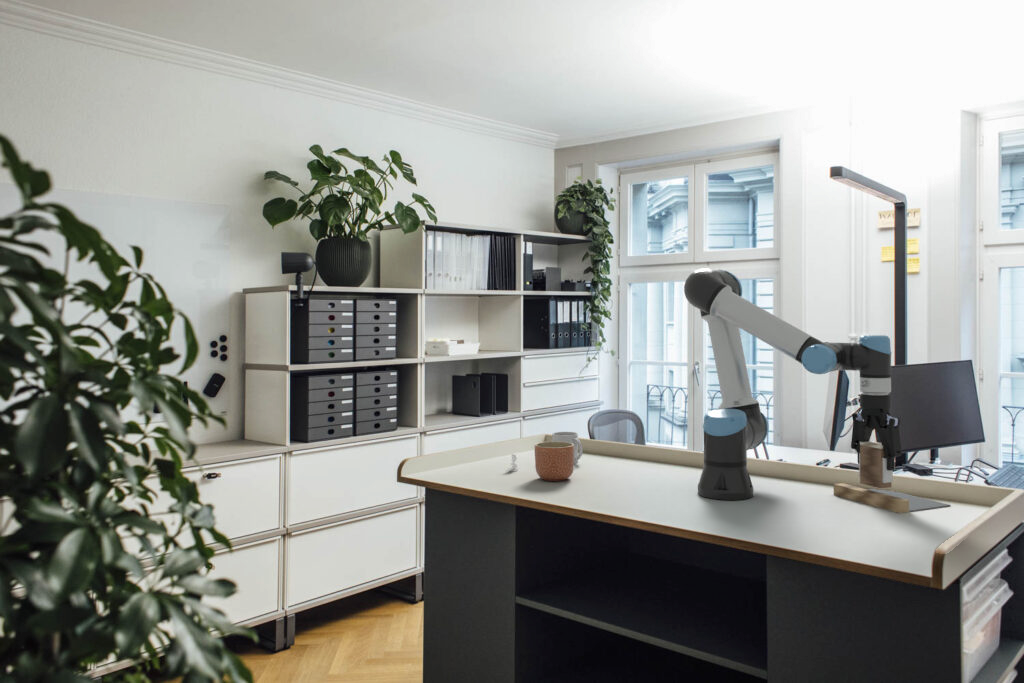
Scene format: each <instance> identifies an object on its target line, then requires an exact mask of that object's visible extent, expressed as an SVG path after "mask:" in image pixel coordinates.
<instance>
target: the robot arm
mask: <svg viewBox="0 0 1024 683" xmlns="http://www.w3.org/2000/svg"><path fill="white" fill-rule="evenodd" d="M683 286H684V288H683V292H684V297H685V299H686V300H687V301H688V303H689V304H691V305H692V307H693V308H694V307H695V308H697V309H699V311H700V312H699V313H700V317H701V319H702V320H703V321H705V322H706V323H707V325H708V331H709V337H710V341H711V348H712V352H713V357H714V364H715V368H716V372H717V374H716V375H717V380H718V383H719V389H720V390H719V391H720V394H721V403H720V404H719V406H718V409H713V410H710V411H708V412H707V413H705V415H704V416H703V424H702V430H703V468H702V471H701V475H700V478H699V481H698V484H697V494H698V495H699V496H701V497H704V498H707V499H714V500H721V501H722V500H723V501H739V500H746V499H751V498H752V497H754V495H755V494H754V485H753V482H752V479H751V476H750V473H749V471H748V465H747V464H748V463H747V461H748V460H747V459H748V457H747V455H748V454H747V451H749V450H754V449H755V448H758V447H759V446H760V445H761V444H762V443H763V442H765V440H766V439H767V437H768V434H769V422H768V419H767V417H766V415H764V413H763V412H761V408H760V403H759V400H757V399H756V398H754V396H753V393H752V390H751V384H750V379H749V375H748V374H749V373H748V368H747V365H746V358H745V354H744V348H743V342H742V337H741V331H740V329H741V330H743V331H745V332H747V333H748V334H749V335H751V336H753V337H755V338H756V339H758V340H760V341H762V342H764V343H765V344H766V345H768V346H770V347H772V348H774V349H775V350H778V351H779V352H781V353H782V354H784V355H786V356H788V357H789V358H791V359H793V360H794V361H797V362H798V363H799V364H801V365H802V366H803V367H804V369H805V370H806V371H807V372H809V373H810V374H811V373H812V374H816V375H823V374H824V375H825V374H828V373H829V372H835V371H852V372H853V371H859V392H861V393H860V395H859V407H860V408H861V411H860V412H853V413H852V414H851V417H852V428H851V429H852V430H851V431H852V432H851V433H852V434H851V441H850V448H851V449H852V450H855V451H856V453H857V463H858V472H859V473H858V477H859V478H860V442H867V441H871V437H872V434H873V431H874V430H875V431H876V433H877V434H878V436H879V440H880V443H881V444H882V446H883V451H884V454H885V456H884V457H883V458H882V466H883V483H889V482H891V483H893V480H894V479H893V474H894V473H893V471H894V470H895V459H896V458H897V457H901V456H902V445H901V434H900V424H901V423H900V422H901V419H900V418H899V417H893V416H891V413H890V410H891V408H892V395H891V392H892V375H891V374H892V350H891V339H890V337H889V336H887V335H884V334H883V335H882V334H880V335H878V334H876V335H875V334H874V335H871V334H869V335H867V334H866V335H860V337H859V340H858V342H827V341H826V342H822V341H821V340H819V339H817V338H815V337H814V336H812V335H811V334H808V333H807V332H806V331H803V330H801V329H800V328H798V327H796V326H794V325H792V324H791V323H789V322H787V321H785V320H783V319H781V318H780V317H778V316H776V315H774V314H772V313H771V312H769V311H767V310H765V309H764V308H762V307H760V306H758V305H757V304H754V303H752V302H751V301H749V300H748V299H745V298H744V297H742V295H743V286H742V283H741V281H740V279H739V278H738V277H737V276H736V275H735V274H733V273H732V272H729V271H727V270H724V269H713V268H712V269H711V268H700V269H697V270H695V271H693V272H691V273H690V274H689V275H688V277H687V278H686V280H685V282H684V285H683ZM889 452H890V453H889Z"/></svg>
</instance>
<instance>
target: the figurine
mask: <svg viewBox="0 0 1024 683" xmlns="http://www.w3.org/2000/svg"><path fill="white" fill-rule="evenodd" d="M510 461H511V462H510V465H511V467H510V468H507V469H506V472H508V473H509V472H518V470H519V468H518V464H517V462H516V461H517V454H516V453H512V454H511V460H510Z"/></svg>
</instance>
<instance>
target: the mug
mask: <svg viewBox="0 0 1024 683" xmlns="http://www.w3.org/2000/svg"><path fill="white" fill-rule="evenodd" d="M578 435H579V434H578V432H575V431H574V432H573V431H556V432H552V437H551V439H552V440H551V441H561V442H569V443H573V444H574V465H575V464H577V463H579V460H580V459H581V458H582V456H583V452H584V451H583V450H584V448H583V443H582V442H581V440H580V439H579V436H578Z"/></svg>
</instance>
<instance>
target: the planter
mask: <svg viewBox="0 0 1024 683" xmlns="http://www.w3.org/2000/svg"><path fill="white" fill-rule="evenodd" d="M534 465H535V472H536V474H537V476H538V477H539V478H540V479H542V480H543V481H547V482H562V481H566V480H568V479H569V478H570V477H571V476H572V474H573V473H574V469H575V468H574V467H575V464H574V444H573V443H569V442H561V441H552V440H550V441H541V442H537V443H536V442H535V444H534Z"/></svg>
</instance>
